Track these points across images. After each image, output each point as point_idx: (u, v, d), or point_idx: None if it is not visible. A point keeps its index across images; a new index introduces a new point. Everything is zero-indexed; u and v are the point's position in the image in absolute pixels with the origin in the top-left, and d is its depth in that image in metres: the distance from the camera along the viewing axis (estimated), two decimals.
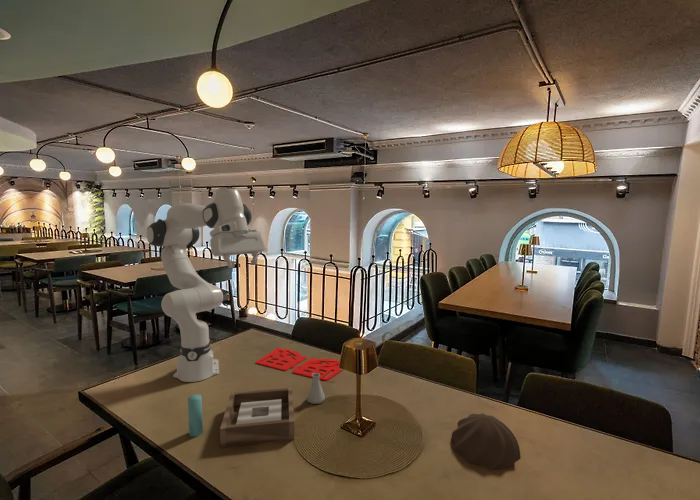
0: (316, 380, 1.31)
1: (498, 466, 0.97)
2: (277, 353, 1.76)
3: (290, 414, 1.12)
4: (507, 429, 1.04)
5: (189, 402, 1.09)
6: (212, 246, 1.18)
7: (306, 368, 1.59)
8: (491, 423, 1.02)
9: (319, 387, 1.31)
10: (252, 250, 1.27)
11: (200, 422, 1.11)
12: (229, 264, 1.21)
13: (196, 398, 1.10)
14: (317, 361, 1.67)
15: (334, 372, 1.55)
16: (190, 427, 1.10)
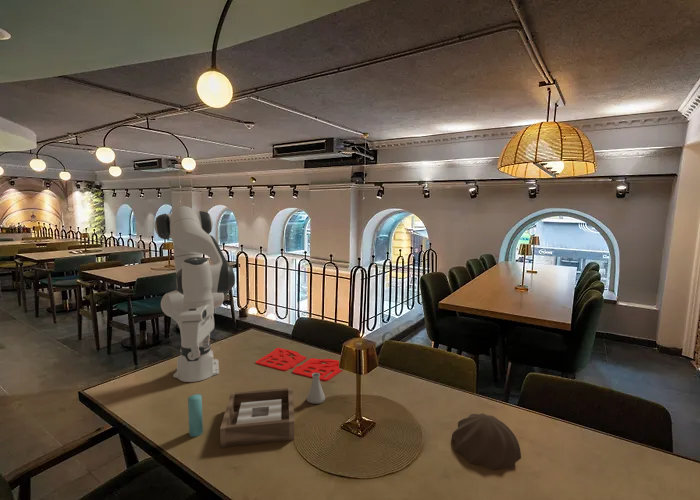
0: (316, 380, 1.31)
1: (499, 466, 0.97)
2: (277, 353, 1.76)
3: (290, 414, 1.12)
4: (507, 429, 1.04)
5: (189, 402, 1.09)
6: (187, 336, 1.00)
7: (306, 368, 1.59)
8: (491, 423, 1.02)
9: (319, 387, 1.31)
10: (209, 332, 1.14)
11: (200, 422, 1.11)
12: (196, 354, 1.05)
13: (196, 398, 1.10)
14: (317, 361, 1.67)
15: (334, 372, 1.55)
16: (190, 427, 1.10)
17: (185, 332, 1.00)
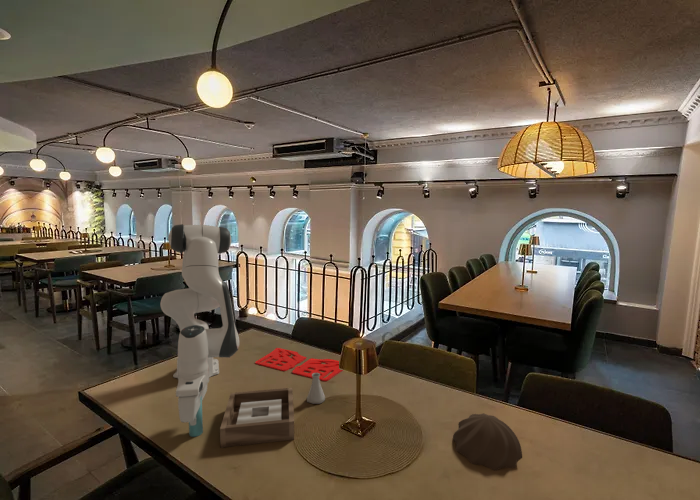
0: (316, 380, 1.31)
1: (501, 466, 0.97)
2: (277, 353, 1.76)
3: (290, 414, 1.12)
4: (508, 428, 1.04)
5: None
6: (184, 412, 1.01)
7: (306, 368, 1.59)
8: (493, 423, 1.02)
9: (319, 387, 1.31)
10: (203, 397, 1.15)
11: (200, 422, 1.11)
12: (193, 422, 1.08)
13: None
14: (317, 361, 1.67)
15: (334, 372, 1.55)
16: (190, 427, 1.10)
17: (182, 408, 1.01)
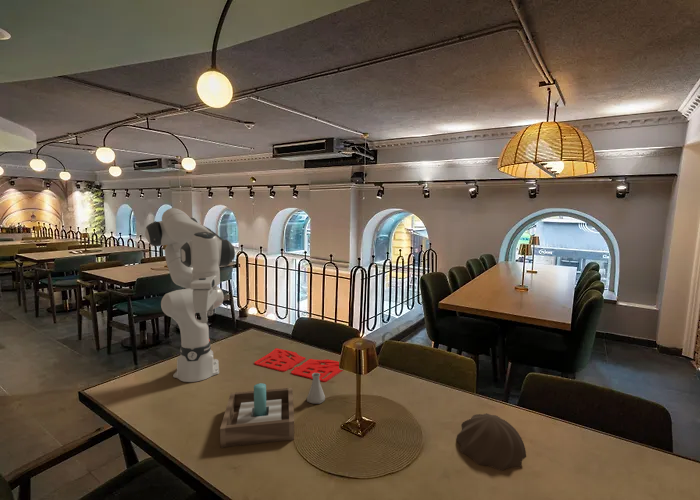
0: (316, 380, 1.31)
1: (507, 466, 0.97)
2: (276, 354, 1.76)
3: (290, 414, 1.12)
4: (512, 428, 1.05)
5: (255, 390, 1.15)
6: (198, 302, 1.10)
7: (305, 369, 1.58)
8: (497, 423, 1.03)
9: (319, 387, 1.31)
10: (214, 301, 1.25)
11: (265, 410, 1.16)
12: (204, 320, 1.15)
13: (261, 387, 1.16)
14: (316, 362, 1.66)
15: (333, 373, 1.54)
16: (256, 414, 1.15)
17: (196, 299, 1.10)
